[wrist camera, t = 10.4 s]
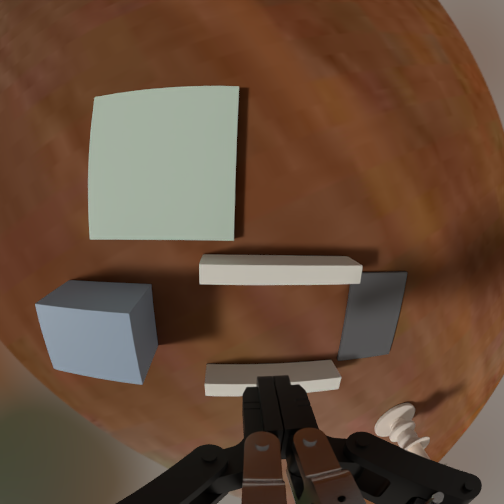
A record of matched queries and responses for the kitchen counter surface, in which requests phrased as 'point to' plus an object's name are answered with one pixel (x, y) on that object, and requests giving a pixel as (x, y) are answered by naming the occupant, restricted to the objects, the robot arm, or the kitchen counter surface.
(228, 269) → the channel
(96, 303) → the block
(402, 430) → the white ringed tapered column
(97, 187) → the tile
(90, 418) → the kitchen counter surface
